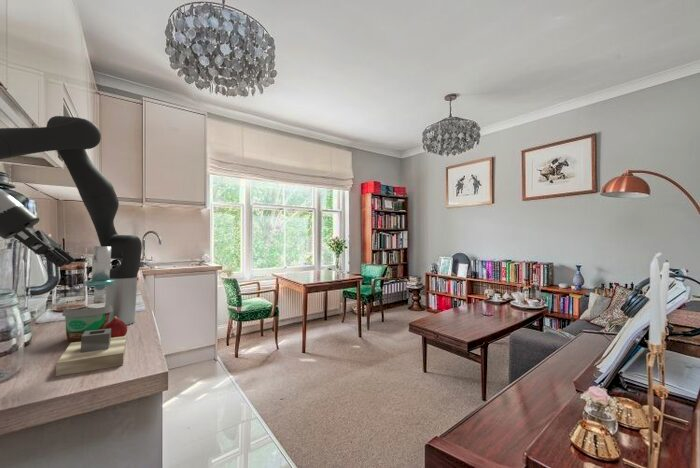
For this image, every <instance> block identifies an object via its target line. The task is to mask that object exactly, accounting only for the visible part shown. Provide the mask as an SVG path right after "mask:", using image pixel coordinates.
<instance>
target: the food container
mask: <svg viewBox="0 0 700 468" xmlns="http://www.w3.org/2000/svg"><path fill="white" fill-rule="evenodd" d="M67 307H68V306H66V307H64V309H63V311H62V314H61V315H62V317H64V319H65V334H66V335H65V336H66V342H67V343H74V342H81V337H82V335H83V333H84V332H85V331H91V330H100V329H104V327H105V326H106V325H107V324H108V320H109V315H110V312H112V311H113V310H112V307H111V305H110V306H106V307H105V306H102V307H85V308H84V307H83V308H77V309H75V308H74V309H70V308H67Z"/></svg>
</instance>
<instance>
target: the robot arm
mask: <svg viewBox="0 0 700 468" xmlns="http://www.w3.org/2000/svg"><path fill="white" fill-rule="evenodd" d="M101 139H102V133H101V131H100V129H99V127H98V126H97V125H96V124H95V123H93V121H90V120H89V119H86V118H82V117H77V116H66V115H54V116H52V117H50V118H49V119H48V121H47V123H46V126H42V127H41V126H39V127H2V128H0V160H4V159H10V158H16V157H20V156H26V155H31V154H38V153H44V152H45V153H46V152H52V151H57V153H58V155H59V156H60V158H61V159H62V161H63V162H64V164H65V167H66V168H67V171H68V172H69V174H70V177H71V178H72V180H73V182H74V184H75V187H76V189H77V191H78V194H79V196H80V198H81V200H82V203H83V204H84V206H85V209H86V211H87V213H88V215H89V216H90V219H91V221H92V222H91V223H93V226H94V229H95V232H96V235H97V239H98V242H99V246H104V247H111V260H121V263H120V264H119V265H118V266H116V267H114V268H110V277H109V279H112V280H115V284H113V285H106V287H105V302H104V307H106V306H110V305H111V307H112V310H113V311H112V312H110V315H109V320H108V323H109V322H111V321H112V320H113V319H114V317H115V316H116V317H117V318H118V319H119V320H122V321H123V322H124V323H125V324H126V326H127V325H131V324H134V323H135V321H136V320H135V319H136V309H137V308H136V306H137V292H138V289H137V288H138V273H139V271H140V267H141V259H142V250H143V243H142V240H141V239H140V237H139V236H137V235H133V234H132V235H131V234H129V235H128V234H127V235H126V234H119V233H118V232H117V230H116V228H115V224H114V220H115V217H116V214H117V212H118V209H119V199H118V195H117V194H116V191H115V189H114V186H113V184H112V182H111V181H110V180H109V179H108V178H107V177H106V175H104V173H103V172H101V170H100V169H99V168H98V167H97V166H96V165H95V164H94V163H93V162H92V160H91V158H90V157H89V155H88V152H87V150H90V149H93V148H94V149H95V148H96V147H97V146H98V145H99V144H100V143H101ZM40 221H41V220H40V217H39V216H37V215H36V214H35V213H33V212H32V211H31V210H30V209H29V208H27V207H26V206H25V205H23V203H21V202H20V201H19V200H17V199H16V198H15V197H13V196H12V195H10V194H9V193H8V192H6V191H4V190H3V189H2V188H0V238H1V239H3V240H9V239H12V238H14V239H16V240H18V241H19V242H20V243H22V244H23V245H24V246H25V247H27V248H28V249H30V251H32V252H33V253H34V254H35V255H38V256H41V257H44V258H45V259H46V260H48V261H50V263H52V264H53V265H55V266H56V267H57V268H61V267H64V266H69V265H70V264H72V263H73V262H75V258H74V257H73V256H71V255H70V254H69V253H68V252H66V251H64V249H63V246H62V245H61V244H59V243H57V241H56V240H54V238H52V237H50V236H49V235H48V234H47V233H46V232H45V231H44V230H40V229H38V230H37V229H36V228H34V226H36V225H37V224H38V223H39V222H40Z"/></svg>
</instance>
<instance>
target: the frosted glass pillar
mask: <svg viewBox="0 0 700 468" xmlns="http://www.w3.org/2000/svg"><path fill="white" fill-rule="evenodd" d="M111 260H112V259H111V247H104V246H101V245H99V246H97V245H96V246H95V245H94V246H93V252H92V265H91V266H92V267H91V279H90V280H89V279H87V280H85V281H84V286H85V287H88V286H89V287H93V288H94V289H93V291H94V292H93V304H97V305H98V304H105V296H106V285H113V284H115V280H112V279H109V277H110V269H111Z"/></svg>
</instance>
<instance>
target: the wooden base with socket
mask: <svg viewBox="0 0 700 468" xmlns="http://www.w3.org/2000/svg"><path fill="white" fill-rule="evenodd" d="M126 345H127V336H126V335H125V336H123V337H115V338H111V328H109V329H100V330H91V331H85V332H84V333H83V335H82V337H81V342H74V343H73V342H69V345H68V347H67V348H66V349H65V351H64V352H63V353H62V354H61V357H60V358H59V359H58V361H57V362H56V368H55V369H56V371H55V377H58V376H59V377H60V376H66V375H71V374H73V375H74V374H78V373H84V372H85V373H86V372H89V371H90V372H91V371H96V370H101V369H108V368H114V367H118V366H121V367H122V366H124V360H125V359H124V358H125V353H126Z"/></svg>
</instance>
